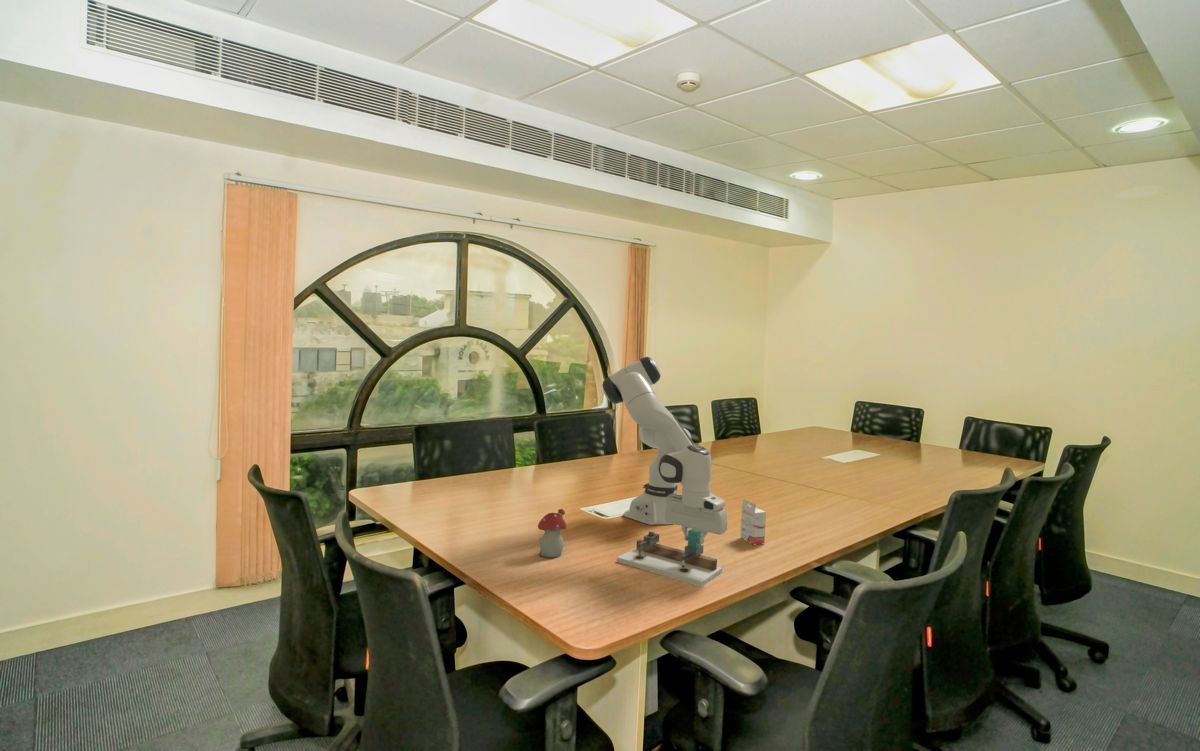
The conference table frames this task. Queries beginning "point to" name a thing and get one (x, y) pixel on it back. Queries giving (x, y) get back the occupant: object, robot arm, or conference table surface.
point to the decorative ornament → (552, 534)
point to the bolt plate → (669, 567)
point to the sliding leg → (692, 545)
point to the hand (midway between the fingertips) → (694, 541)
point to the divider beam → (672, 552)
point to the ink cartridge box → (752, 523)
